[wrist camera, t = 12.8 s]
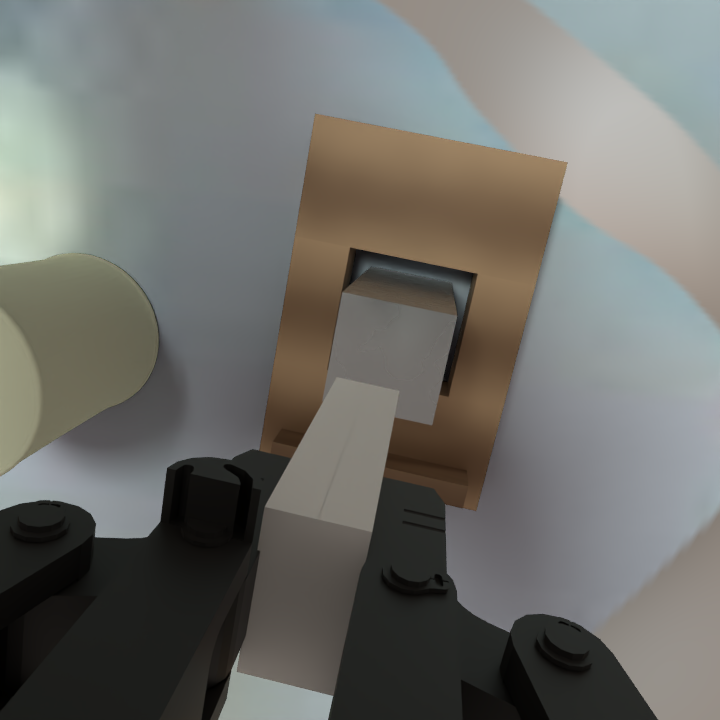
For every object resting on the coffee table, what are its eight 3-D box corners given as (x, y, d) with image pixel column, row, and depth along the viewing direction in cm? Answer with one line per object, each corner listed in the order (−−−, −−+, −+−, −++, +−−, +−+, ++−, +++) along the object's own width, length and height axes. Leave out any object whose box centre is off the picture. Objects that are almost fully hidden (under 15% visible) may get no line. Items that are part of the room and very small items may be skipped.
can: (179, 289, 37) (59, 327, 25) (134, 431, 39) (6, 526, 27) (30, 228, 37) (-157, 237, 25) (-6, 372, 39) (-192, 442, 28)
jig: (325, 121, 34) (307, 107, 29) (556, 166, 33) (576, 159, 28) (271, 441, 38) (247, 475, 33) (473, 487, 37) (478, 529, 32)
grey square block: (371, 266, 35) (342, 292, 24) (451, 282, 35) (457, 315, 24) (356, 344, 36) (322, 401, 25) (433, 360, 36) (431, 425, 25)
